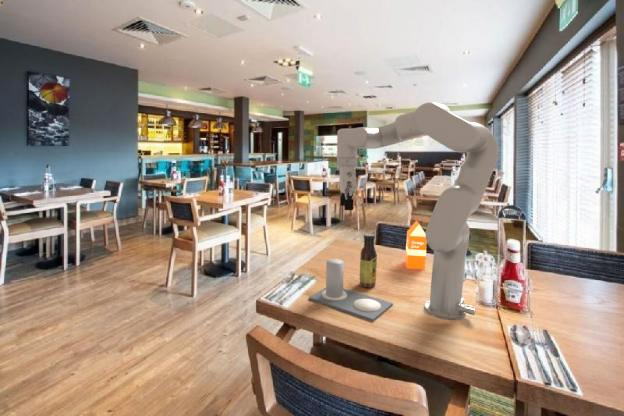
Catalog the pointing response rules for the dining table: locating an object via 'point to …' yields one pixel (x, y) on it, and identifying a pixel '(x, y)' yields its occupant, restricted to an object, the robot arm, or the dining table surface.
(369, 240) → the sauce bottle
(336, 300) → the board
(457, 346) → the dining table surface
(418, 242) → the orange juice
